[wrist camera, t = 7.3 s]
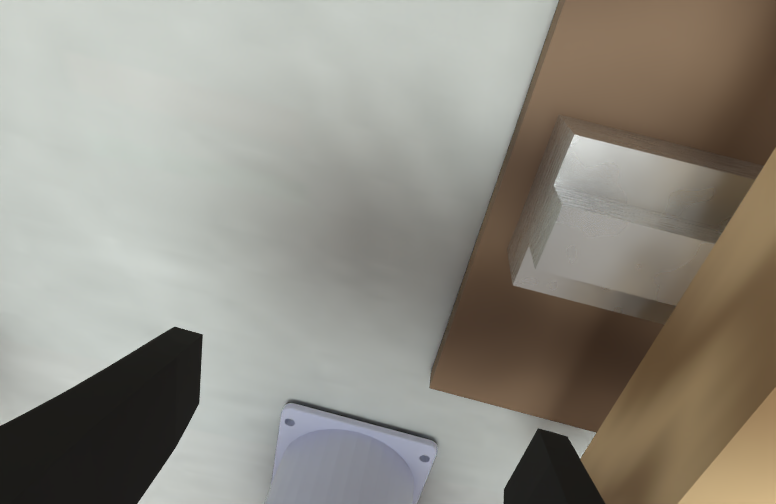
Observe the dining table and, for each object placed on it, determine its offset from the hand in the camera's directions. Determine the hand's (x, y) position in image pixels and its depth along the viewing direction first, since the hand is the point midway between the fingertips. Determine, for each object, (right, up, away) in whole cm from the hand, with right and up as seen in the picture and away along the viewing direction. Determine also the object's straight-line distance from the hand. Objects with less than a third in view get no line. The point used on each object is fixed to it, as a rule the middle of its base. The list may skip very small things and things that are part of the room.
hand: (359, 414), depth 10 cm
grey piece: (+11, +5, +7) cm, 14 cm away
